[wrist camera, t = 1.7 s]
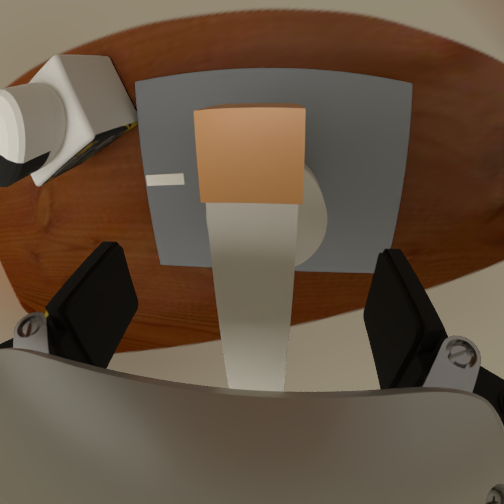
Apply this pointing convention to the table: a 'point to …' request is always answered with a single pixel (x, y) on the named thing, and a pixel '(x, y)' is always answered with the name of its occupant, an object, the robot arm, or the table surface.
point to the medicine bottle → (61, 117)
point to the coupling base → (316, 158)
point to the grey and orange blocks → (257, 229)
